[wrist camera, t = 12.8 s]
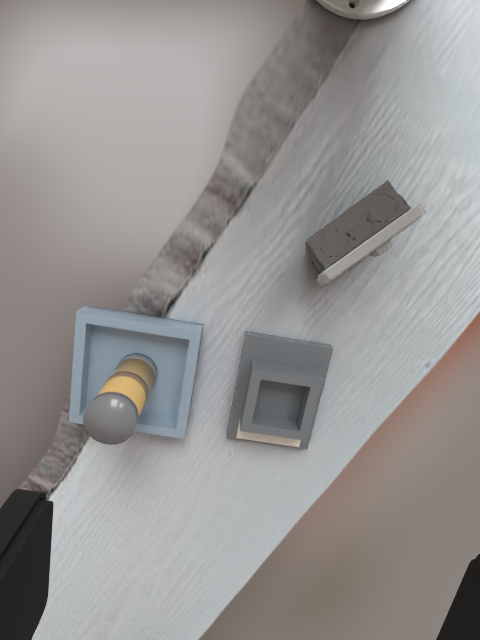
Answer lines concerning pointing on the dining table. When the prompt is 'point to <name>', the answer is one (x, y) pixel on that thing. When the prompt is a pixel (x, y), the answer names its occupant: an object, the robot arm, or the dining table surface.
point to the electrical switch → (360, 232)
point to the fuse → (121, 400)
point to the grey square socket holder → (278, 390)
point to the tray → (145, 338)
